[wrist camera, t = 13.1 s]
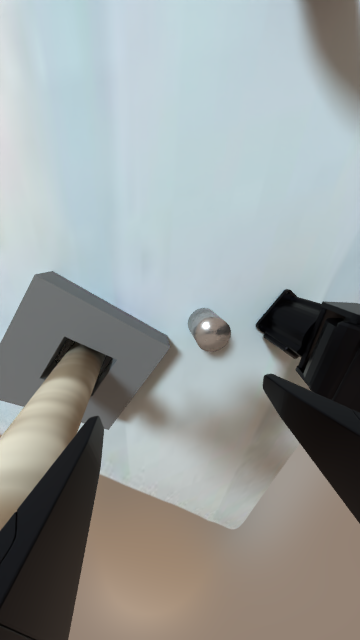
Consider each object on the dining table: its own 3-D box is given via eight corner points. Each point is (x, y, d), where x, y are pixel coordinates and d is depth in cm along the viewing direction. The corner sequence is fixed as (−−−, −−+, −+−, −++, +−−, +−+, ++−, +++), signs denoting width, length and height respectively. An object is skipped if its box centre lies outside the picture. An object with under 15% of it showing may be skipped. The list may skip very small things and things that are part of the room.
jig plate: (52, 271, 17) (34, 274, 14) (166, 335, 22) (170, 347, 19) (-2, 373, 20) (-25, 393, 17) (112, 410, 25) (108, 429, 22)
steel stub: (200, 302, 21) (212, 312, 18) (222, 318, 23) (237, 330, 19) (181, 327, 22) (189, 341, 18) (204, 340, 24) (215, 357, 20)
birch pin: (67, 339, 20) (-74, 498, 7) (104, 338, 20) (40, 479, 8) (72, 367, 21) (-39, 544, 8) (106, 366, 22) (54, 524, 9)
